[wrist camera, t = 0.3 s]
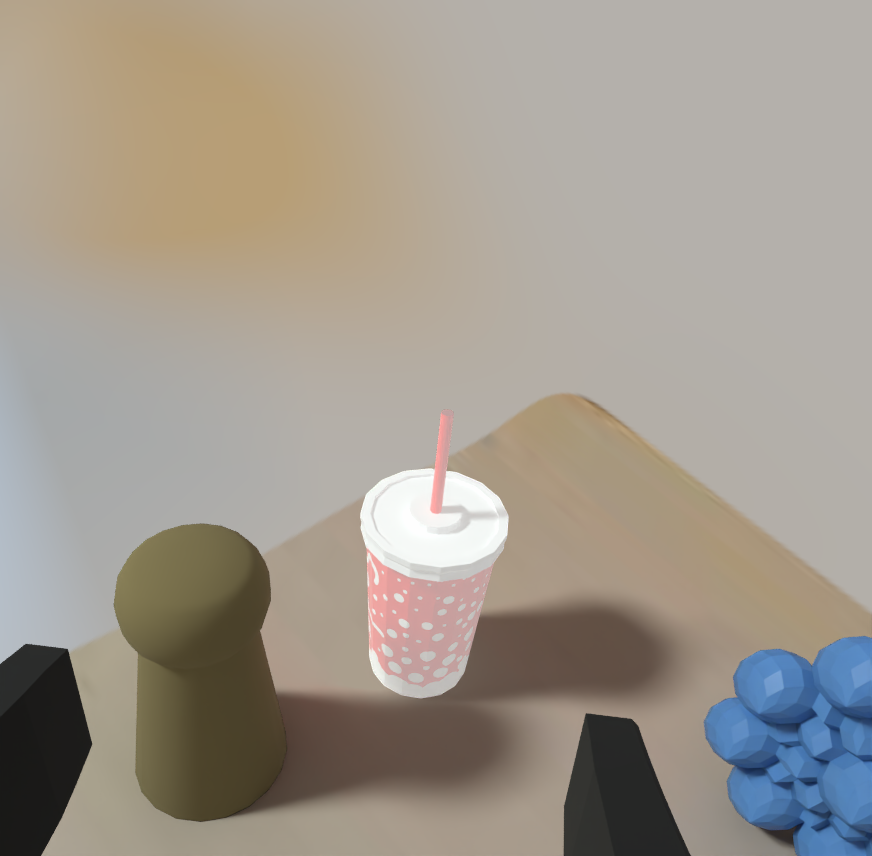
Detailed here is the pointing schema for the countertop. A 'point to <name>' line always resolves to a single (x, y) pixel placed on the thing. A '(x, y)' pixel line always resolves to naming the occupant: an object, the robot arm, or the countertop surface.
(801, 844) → the grapes
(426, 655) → the beverage cup
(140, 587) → the cork
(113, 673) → the countertop surface
